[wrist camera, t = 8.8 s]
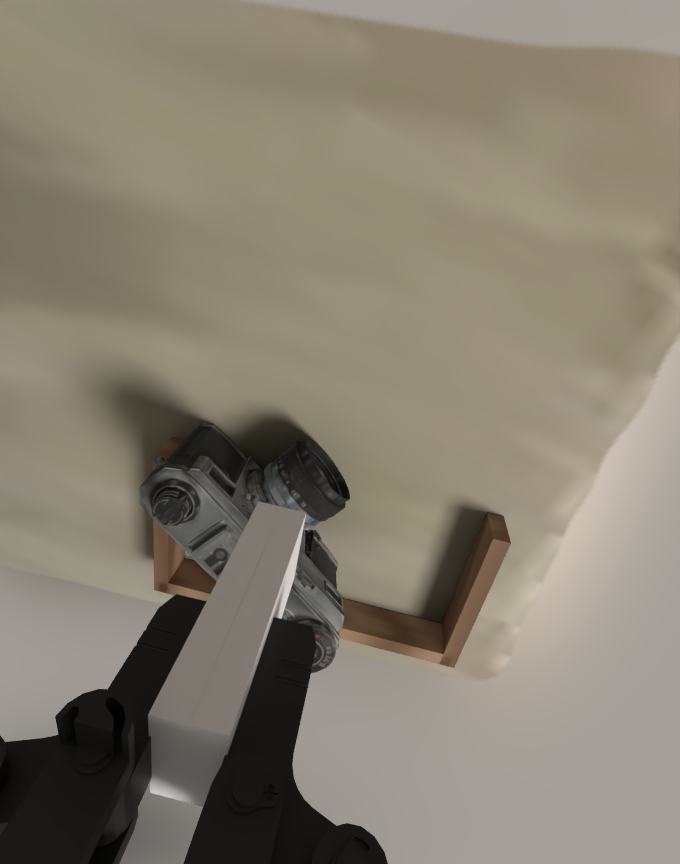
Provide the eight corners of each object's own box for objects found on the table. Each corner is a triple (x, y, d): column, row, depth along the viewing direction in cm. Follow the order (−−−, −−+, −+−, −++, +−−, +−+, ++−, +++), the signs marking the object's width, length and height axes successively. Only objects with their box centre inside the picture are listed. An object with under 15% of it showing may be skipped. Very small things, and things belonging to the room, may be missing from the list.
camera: (403, 534, 37) (428, 622, 28) (315, 594, 39) (310, 696, 29) (259, 364, 33) (230, 400, 23) (166, 440, 34) (103, 502, 25)
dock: (171, 565, 41) (149, 597, 38) (172, 437, 35) (146, 462, 31) (451, 636, 39) (454, 676, 36) (503, 516, 33) (513, 551, 30)
